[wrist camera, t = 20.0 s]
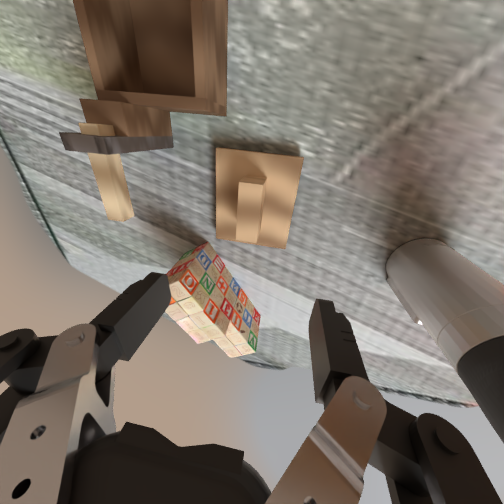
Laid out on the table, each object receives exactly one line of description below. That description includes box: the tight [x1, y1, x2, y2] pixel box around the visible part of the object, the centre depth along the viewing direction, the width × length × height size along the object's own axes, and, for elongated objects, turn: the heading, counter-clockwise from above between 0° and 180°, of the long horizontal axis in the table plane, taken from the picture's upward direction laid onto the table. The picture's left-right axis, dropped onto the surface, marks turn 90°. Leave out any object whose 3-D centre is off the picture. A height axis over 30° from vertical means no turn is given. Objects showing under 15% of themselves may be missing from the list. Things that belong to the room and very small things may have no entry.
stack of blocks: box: [165, 242, 260, 358], centre depth 38 cm, size 21×6×12 cm, turn 30°
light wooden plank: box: [78, 123, 134, 222], centre depth 23 cm, size 10×2×2 cm, turn 175°
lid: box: [216, 147, 304, 249], centre depth 29 cm, size 14×12×8 cm
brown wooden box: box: [59, 0, 228, 155], centre depth 20 cm, size 18×13×13 cm
